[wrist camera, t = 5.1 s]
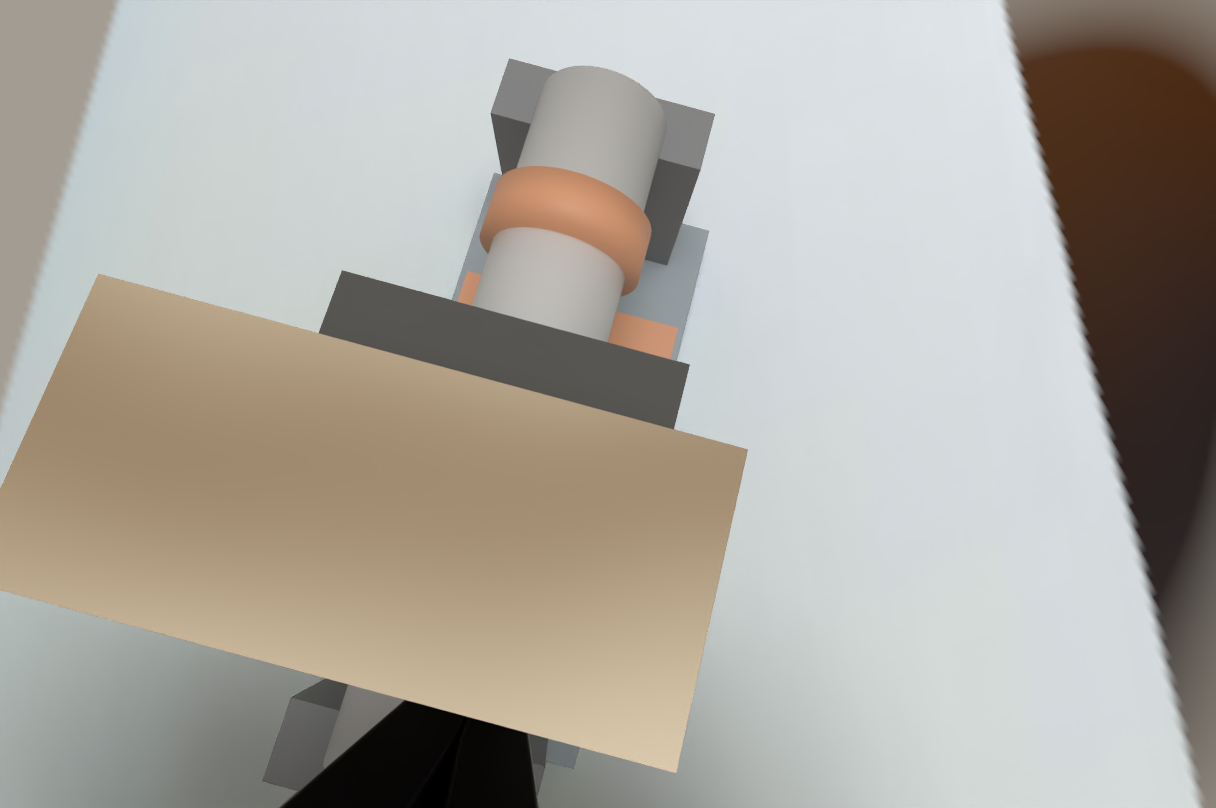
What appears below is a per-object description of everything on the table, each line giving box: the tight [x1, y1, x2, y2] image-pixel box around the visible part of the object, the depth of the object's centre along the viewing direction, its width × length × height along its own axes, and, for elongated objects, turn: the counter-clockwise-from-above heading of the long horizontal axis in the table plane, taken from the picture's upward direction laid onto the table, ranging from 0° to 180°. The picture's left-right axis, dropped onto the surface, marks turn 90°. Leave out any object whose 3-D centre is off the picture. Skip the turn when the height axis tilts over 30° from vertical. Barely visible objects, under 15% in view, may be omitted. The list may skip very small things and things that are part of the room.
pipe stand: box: [263, 58, 715, 795], centre depth 17 cm, size 16×7×9 cm, turn 165°
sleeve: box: [0, 274, 748, 773], centre depth 12 cm, size 3×7×11 cm, turn 75°
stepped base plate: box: [319, 271, 690, 429], centre depth 14 cm, size 2×6×6 cm, turn 75°
